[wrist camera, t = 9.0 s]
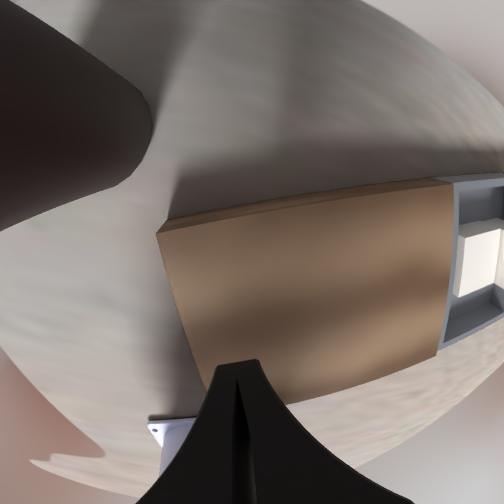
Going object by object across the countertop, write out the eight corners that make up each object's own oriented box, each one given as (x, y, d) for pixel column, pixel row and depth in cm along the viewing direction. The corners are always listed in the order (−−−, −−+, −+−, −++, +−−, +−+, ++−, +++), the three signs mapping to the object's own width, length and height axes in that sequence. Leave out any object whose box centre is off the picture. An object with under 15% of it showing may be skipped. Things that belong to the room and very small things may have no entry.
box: (489, 304, 22) (505, 315, 19) (419, 335, 21) (436, 351, 19) (502, 172, 18) (523, 176, 15) (428, 178, 17) (452, 182, 15)
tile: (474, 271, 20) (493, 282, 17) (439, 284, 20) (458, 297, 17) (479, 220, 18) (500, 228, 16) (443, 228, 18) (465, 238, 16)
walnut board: (417, 336, 21) (435, 355, 19) (215, 388, 21) (216, 416, 18) (425, 178, 17) (453, 184, 14) (166, 220, 16) (155, 233, 14)
